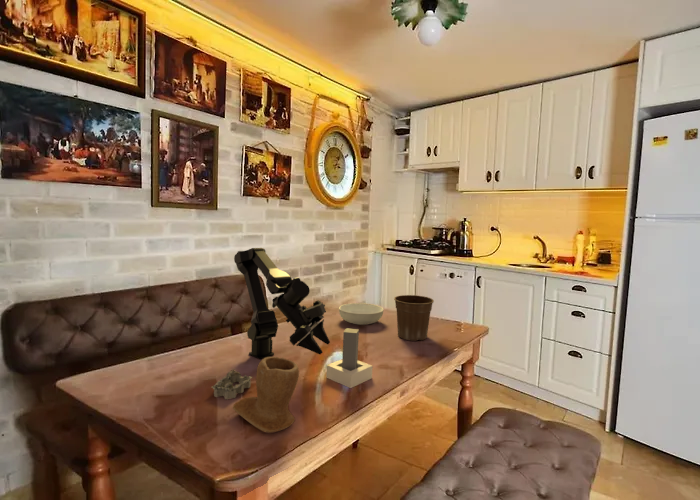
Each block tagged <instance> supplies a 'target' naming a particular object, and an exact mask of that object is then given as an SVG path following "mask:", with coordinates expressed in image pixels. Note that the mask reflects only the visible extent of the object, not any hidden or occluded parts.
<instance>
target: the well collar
mask: <svg viewBox="0 0 700 500" xmlns="http://www.w3.org/2000/svg"><path fill="white" fill-rule="evenodd" d="M325 374H326V375H325V376H326V379H329V380H331V381H333V382H335V383H338V384H340V385H342V386H345V387H346V388H347V387H348V388H350V389H352V388H354V387H356V386H359V385H361V384H362V383H364V382H367V381H369V380H371V379H373V365H372V364H370V363H366V362H364V361H360V360H358V361H357V369H354V370H352V371H349V370H347V369H344V368H342V359H339V360H336V361H334V362H331V363H329V364H326V373H325Z"/></svg>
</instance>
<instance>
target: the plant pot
mask: <svg viewBox="0 0 700 500" xmlns="http://www.w3.org/2000/svg"><path fill="white" fill-rule="evenodd" d="M393 299H394V301H395V308H396V323H397V324H396V325H397V336H398V337H400V338H401V339H403V340H406V341H415V342H416V341H418V340H419V341H424V340H426V339H427V338H428V334H429V333H428V332H429V325H430V317H431V311H432V309H433V304H434V302H435V301H434V299H433V298H431V297H428V296H425V295H424V296H423V295H418V294H417V295H416V294H415V295H414V294H404V295H403V294H401V295H397V296H394V298H393Z"/></svg>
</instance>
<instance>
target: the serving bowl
mask: <svg viewBox="0 0 700 500" xmlns="http://www.w3.org/2000/svg"><path fill="white" fill-rule="evenodd" d="M338 312H339V315H340V317H341V319H343V320H344V321H345V322H348V323H349V324H353V325H358V326H365V325H370V324H375V323H377V322H378V321H380V319H381V318H382V317H383V314H384V307H382V306H380V305H377V304H373V303H365V302H354V303H353V302H352V303H345V304H342V305H340V306H339V307H338Z"/></svg>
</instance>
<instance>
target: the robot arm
mask: <svg viewBox="0 0 700 500" xmlns="http://www.w3.org/2000/svg"><path fill="white" fill-rule="evenodd" d="M233 259H234V263H235V266H236V268H237V271H239V273H240V274H242V275H243V276H244V280H245V284H246V288H247V292H248V296H249V300H250V303H251V304H250V305H251V308H252V311H253V314H252V316H251V320H250V323H251V325H250V327H249V328H248V330H247V331H246V334H247V338H248V339H249V340H251V351H249V352H248V355H250V356H252V357H254V358H257V359H261V360H262V359H264V358H266V357H272V356H273V355H275V352H273V339H272V338H276V337H277V333H278V328H279V325H278V324H279V323H278V320H277V317H276V312H275V311H274V310H270V309H269V308H268V307H267V302H266V297H265V295H264V289H263V287H262V283H261V279H260V276H259V272H258V270H260V272H261V273H262V274H263V276H264V277H265V278H264V279H266V282H265V286H266V288H267V290H268V291H269V293H270V294H271V295H277V294H278V296H275V297H274V298H273V299H272V305H271V307H272V308H273V309H275V308H277V309H279V311H280V312H281V313H282V314H283V315H284V317H285V318H286V319H285V322H286V323H287V324H289V323H290V324H291V325H293V328H295V330H294V332H293V333H292V334H291V335H290V336H289V343H291V345H293V346H295V345H296V347H301V348H303V349H306V350H309V351H310V352H313V353H316V354H317V355H322V354H323V350H322V349H321V347H320V346H319V344H318V343H317V341H316V340H315V338H317V339H318V340H319V341H320V342H323V343H324V344H326V345H329V344H330V343H331V341H330V339H329V337H328V335H327V333H326V331H325V328H324V322H325V319H324V318H325V316H324V314H325V313H326V312H327V310H326V308H325V307H326V304H324V302H322V301H321V300H316V301H313V305H311V306H310V307H307V306H306V305H301V303H302V302H303V300H305V298H307V297H308V296H309V294H310V292H311V291H310V286H309V285H308V284H307V283H306V282H305V281H302V280H301V278H300V277H293V278H292V277H291V276H290V275H289V274H288V273H287V272H286V271H284V270H281V269H279V268H278V267H277V266H276V264H275V263H274V262H273V260H272V259H271V257H269V255H268V254H267V251H266V249H265V248H264V247H252V248H249V249H247V250H239V251H237V252H236V254H234V257H233Z"/></svg>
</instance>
